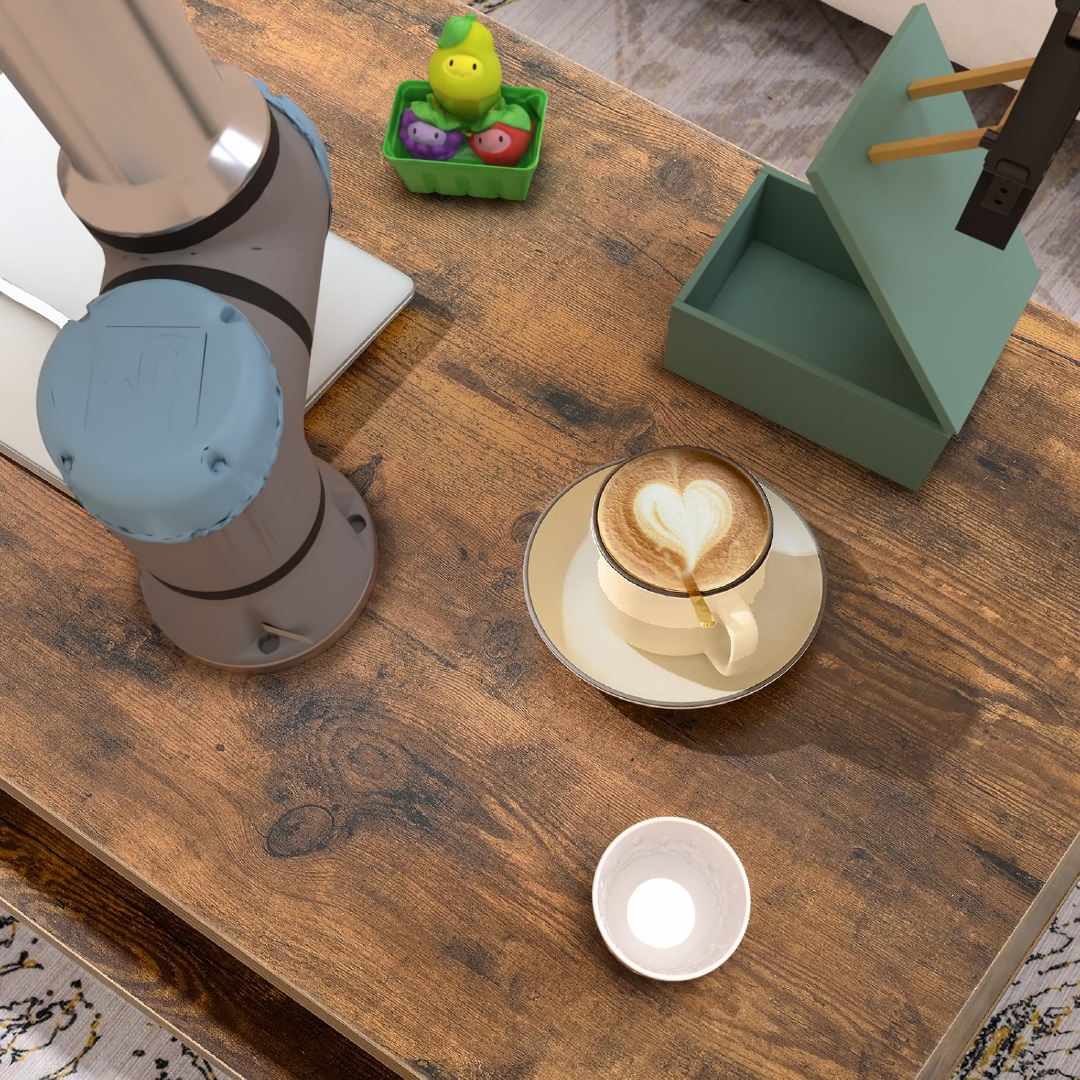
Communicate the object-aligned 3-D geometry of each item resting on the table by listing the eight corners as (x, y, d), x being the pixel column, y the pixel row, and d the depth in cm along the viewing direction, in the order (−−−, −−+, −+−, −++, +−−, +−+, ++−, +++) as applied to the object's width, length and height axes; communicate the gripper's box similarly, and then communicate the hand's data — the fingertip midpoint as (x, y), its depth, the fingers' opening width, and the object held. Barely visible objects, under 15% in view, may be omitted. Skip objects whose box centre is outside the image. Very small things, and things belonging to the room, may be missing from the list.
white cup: (562, 902, 67) (560, 881, 58) (667, 818, 69) (680, 785, 60) (649, 1018, 65) (661, 1015, 56) (755, 928, 67) (783, 911, 57)
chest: (662, 367, 81) (670, 304, 74) (749, 235, 86) (764, 164, 79) (916, 492, 77) (949, 438, 70) (993, 346, 81) (1032, 281, 74)
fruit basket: (390, 204, 88) (364, 93, 77) (409, 115, 91) (388, -4, 81) (538, 217, 87) (533, 106, 77) (553, 126, 90) (550, 7, 80)
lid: (803, 173, 58) (981, 147, 51) (912, 5, 63) (1090, -41, 55) (945, 434, 70) (1107, 443, 63) (1029, 277, 74) (1189, 269, 67)
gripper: (1260, -52, 36) (1004, 354, 57) (1425, -381, 42) (1139, 95, 63) (1028, -133, 37) (864, 290, 59) (1220, -438, 44) (1009, 45, 65)
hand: (1007, 189), depth 61 cm, fingers closed on lid, 6 cm apart
